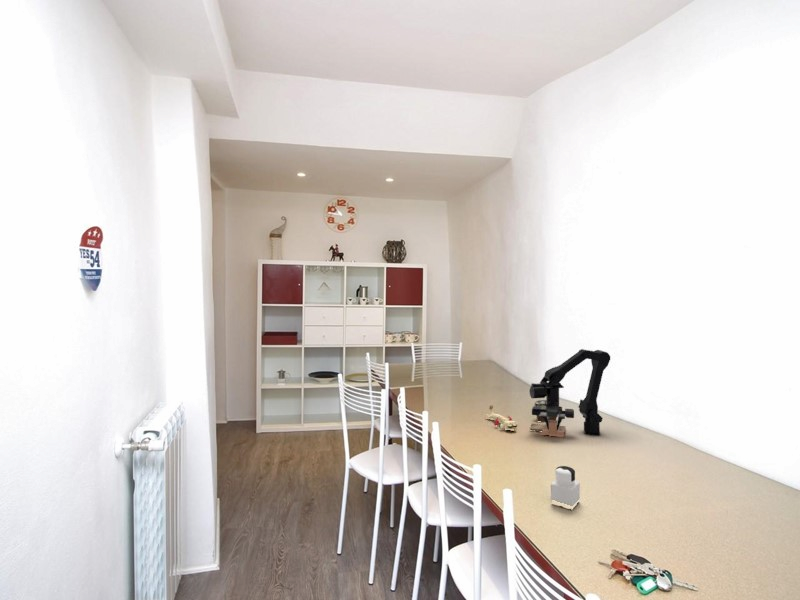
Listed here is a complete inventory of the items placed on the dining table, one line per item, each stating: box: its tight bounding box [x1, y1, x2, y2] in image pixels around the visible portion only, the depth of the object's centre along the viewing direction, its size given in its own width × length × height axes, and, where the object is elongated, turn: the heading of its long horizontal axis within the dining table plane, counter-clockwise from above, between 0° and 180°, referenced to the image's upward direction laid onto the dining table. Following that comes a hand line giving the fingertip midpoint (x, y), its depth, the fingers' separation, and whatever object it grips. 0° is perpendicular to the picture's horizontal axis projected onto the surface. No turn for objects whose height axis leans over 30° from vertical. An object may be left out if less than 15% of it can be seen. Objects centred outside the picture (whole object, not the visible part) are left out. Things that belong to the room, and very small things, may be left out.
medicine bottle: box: [550, 465, 581, 506], centre depth 156 cm, size 7×7×12 cm
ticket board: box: [529, 422, 567, 435], centre depth 229 cm, size 17×8×2 cm, turn 70°
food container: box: [533, 399, 558, 423], centre depth 245 cm, size 12×6×10 cm, turn 84°
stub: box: [541, 419, 565, 438], centre depth 222 cm, size 10×4×6 cm, turn 70°
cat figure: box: [485, 404, 519, 431], centre depth 238 cm, size 10×9×25 cm
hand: (552, 430), depth 222 cm, fingers closed on stub, 3 cm apart
